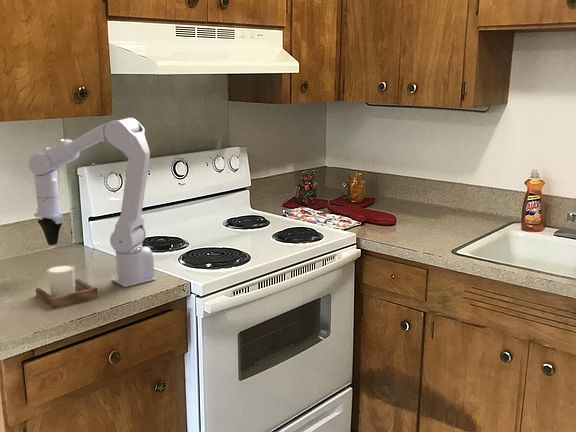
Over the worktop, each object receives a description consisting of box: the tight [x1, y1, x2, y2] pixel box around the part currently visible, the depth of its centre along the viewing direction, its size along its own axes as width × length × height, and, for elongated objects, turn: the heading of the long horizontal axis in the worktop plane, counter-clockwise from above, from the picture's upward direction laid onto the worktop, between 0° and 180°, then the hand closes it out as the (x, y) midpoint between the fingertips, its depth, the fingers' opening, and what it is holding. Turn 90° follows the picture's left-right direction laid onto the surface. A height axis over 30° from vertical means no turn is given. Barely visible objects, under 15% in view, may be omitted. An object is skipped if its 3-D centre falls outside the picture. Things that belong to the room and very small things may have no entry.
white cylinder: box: [46, 264, 76, 297], centre depth 162 cm, size 7×7×7 cm
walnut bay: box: [35, 278, 99, 310], centre depth 160 cm, size 12×12×2 cm
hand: (52, 244), depth 174 cm, fingers closed
